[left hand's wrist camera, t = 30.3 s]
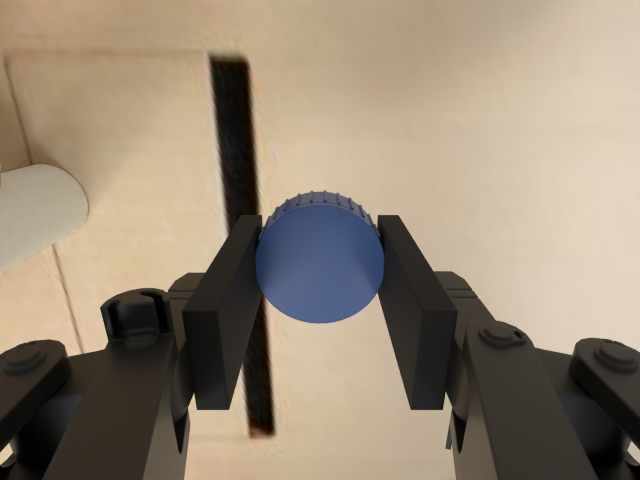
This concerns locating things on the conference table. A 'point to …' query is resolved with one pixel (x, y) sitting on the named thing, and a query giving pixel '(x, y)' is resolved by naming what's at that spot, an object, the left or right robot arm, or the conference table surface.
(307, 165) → the conference table surface
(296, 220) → the cap
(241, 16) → the conference table surface
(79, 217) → the bottle
